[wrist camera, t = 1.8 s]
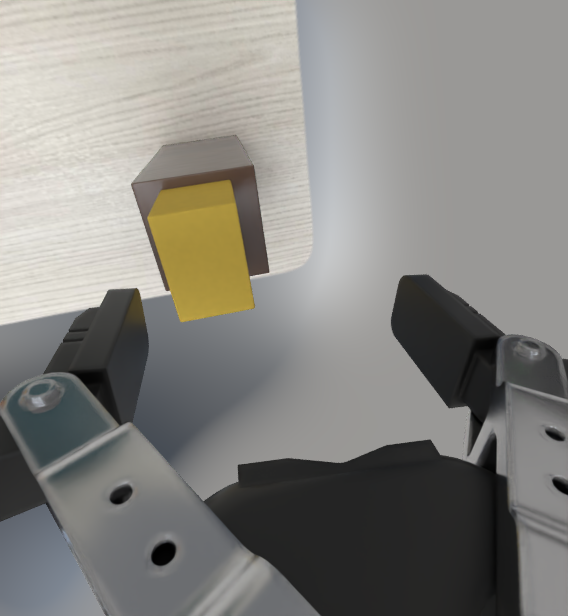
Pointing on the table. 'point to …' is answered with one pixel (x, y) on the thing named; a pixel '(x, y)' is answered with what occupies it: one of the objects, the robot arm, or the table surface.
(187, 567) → the robot arm
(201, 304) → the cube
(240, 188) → the stand
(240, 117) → the table surface
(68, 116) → the table surface
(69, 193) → the table surface
